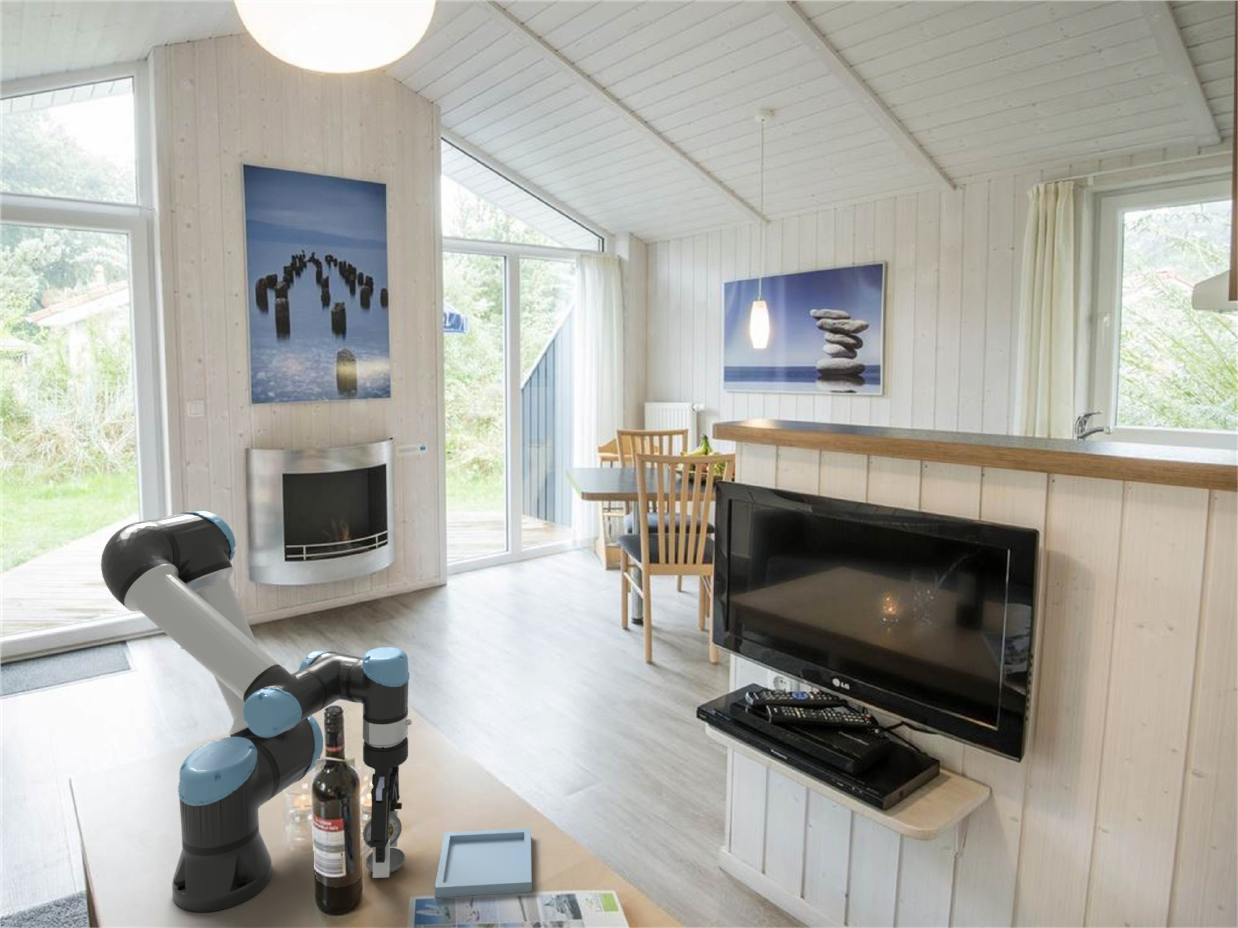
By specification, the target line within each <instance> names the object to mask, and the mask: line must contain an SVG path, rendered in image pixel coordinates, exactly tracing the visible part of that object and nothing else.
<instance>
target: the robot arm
mask: <svg viewBox="0 0 1238 928" xmlns="http://www.w3.org/2000/svg"><path fill="white" fill-rule="evenodd" d="M236 542H237V541H236V539H235V536H234V532H233V531H232V529H231V527H230V525H229V524H228V523H227V522H226V521H225V520H224V519H223V518H222V517H220V516H219V515H218V514H215V513H212V512H210V511H205V510H197V511H183V512H181V513H177V514H172V515H168V516H163V517H158V518H154V519H150V520H145V521H144V520H142V521H137V522H133V523H129V524H128V525H125V526H124V527H122V528H120V529H119V530H118V531H116V532H115V533H114V534H113V535H111V537H110V538H109V539H108V541H107V542H106V545H105V546H104V548H103V551H102V554H101V558H100V560H101V561H100V562H101V563H100V570H101V573H102V574H101V576H102V578H103V580H104V584H105V586H106V587H107V589H108V590H109V592H110V593H111V594H112V596H113V597H114V598H115V599H116V600H117V601H118V602H119V603H120V604H121V605H123V606H124V607H125V608H126V609H127V610H129V611H131V612H140V613H142V614H143V615H145V617H147V618H148V620H149V621H151V622H152V623H154V625H156V626H157V627H158V628H159V629H161V631H162V632H164V633H165V634H166V635H167V636H169V637H170V638H171V639H172V640H173V641H174V642H175V643H176V644H178V645H179V646H180V647H181V649H183V650H184V651H185V652H187V654H189V655H190V656H191V657H192V658H194V659H195V661H197V662H198V663H199V664H201V666H203V667H204V668H205V669H206V670H207V671H208V672H209V673H211V675H213V676H214V679H215V681H216V684H217V686H218V688H219V690H220V693H221V695H222V697H223V699H224V701H225V704H226V706H227V709H228V710H229V713H230V715H231V717H232V719H233V722H232V725H231V727H230V729H229V732H228V734H229V736H230V737H222V738H220V740H219V739H218V741H216V740H212V741H210V742H207V743H205V744H203V745H201V746H199V747H197V748H196V749H195V750H193V751H192V752H191V753H189V755H188V756H187V757H186V758H185V759H184V760H183V762H182V764H181V766H180V769H179V781H178V786H177V792H178V796H179V808H180V809H179V810H180V824H181V840H182V841H181V844H182V845H181V847H182V849H181V853H180V856H179V859H178V863H177V866H176V869H175V872H174V874H173V878H172V883H171V886H172V887H171V888H172V899H173V901H174V903H175V905H177V907H179V908H181V909H183V910H186V911H189V912H196V913H209V912H216V911H217V912H218V911H220V910H225V909H228V908H229V909H230V908H232V907H234V906H236V905H239V904H242V903H244V902H246V901H248V900H249V899H252V898H253V897H254V896H255V895H257V894H259V893H260V892H261V891H262V890H263V889H264V888H265V887H266V886H267V885H268V884H269V881H270V880H271V878H272V873H273V872H272V871H273V870H272V867H273V866H272V857H271V855H270V853H269V852H270V851H269V850H268V848H267V846H266V843H265V841H264V839H263V837H262V835H261V833H260V823H259V822H260V819H259V809H260V807H261V806H263V805H264V804H266V803H267V802H268V801H270V800H271V799H273V798H274V797H276V796H277V795H278V794H280V793H282V792H283V791H284V790H285V789H287V788H289V787H290V786H291V785H293V784H294V783H295V784H296V783H297V782H300V781H301V780H302V779H304V777H306V775H307V774H309V773H310V772H311V771H312V770H313V769H314V768H315V767H316V766H317V765H316V764H315V761H316V760H317V759H320V760H321V756H322V753H323V751H324V736H323V731H322V728H321V726H320V724H319V723H318V721H317V719H316V718H315V717H314V714H317V713H319V712H320V711H321V710H323V709H326V708H327V707H328V706H330V705H331V704H333V703H335V702H336V701H339V700H340V701H345V702H352V703H357V704H361V705H362V739H363V741H362V761H363V764H364V765H365V766H367V767H369V768H372V769H373V770H374V773H372V775H371V777H372V778H371V784H372V788H371V790H370V794H371V816H370V818H371V840H369V841H368V845H370V847H373V848H372V852H373V872H372V878H374V879H377V878H378V879H379V878H390V873H391V872H390V848H397V846H398V841H399V838H398V839H397V840H396V841H395V842H394V843H393V844H392V845H391V846H390V839H389V838H388V834H389V832H391V831H392V829H390V831H389V826H390V827H391V825H392V824H390V825H389V818H390V813H393V814H395V815H396V816H397V817H398V818H399V815H398V814H399V811H398V810H402V806H403V803H402V802H398V801H399V800H400V798H401V797H400V779H399V778H400V775H399V770H400V765H402V764H403V763H405V762H406V761H407V759H408V757H409V738H408V735H409V733H408V732H409V726H411V725H412V723H413V721H412V719H408V717H409V684H410V683H409V681H410V672H409V659H408V654H407V653H406V652H405V651H404V650H403V649H401V648H398V647H393V646H391V647H390V646H389V647H385V646H383V647H381V646H380V647H376V648H372V649H370V650H368V651H366V653H364V655H363V657H359V656H356V655H350V654H345V653H341V652H337V651H334V650H333V651H332V650H315V651H312V652H310V653H309V654H307V655H306V658H305V659H303V660H302V662H301V663H300V666H299V668H298V670H297V671H295V672H294V673H290V672H289V671H288V670H287V669H286V668H284V667H283V666H282V665H280V664H279V663H278V662H277V661H276V660H275V659H274V658H272V656H270V655H269V654H267V652H266V651H264V650H263V649H262V648H261V647H260V646H259V645H258V643H257V640H256V639H255V635H254V634H253V632H252V630H251V627H250V625H249V623H248V621H247V618H246V616H245V614H244V612H243V609H242V607H241V604H240V602H239V601H238V598H237V597H236V593H235V591H234V590H233V586H232V585H231V582H230V579H231V576H232V574H233V571H234V567H233V565H232V563H231V561H232V560H233V558H234V556H235V553H236V550H235V548H236V546H237V545H236ZM368 845H367V846H368ZM370 847H369V848H370Z"/></svg>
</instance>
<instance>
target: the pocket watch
mask: <svg viewBox="0 0 1238 928" xmlns="http://www.w3.org/2000/svg"><path fill="white" fill-rule="evenodd" d="M390 824H392V825H391V827H390V826H389V831H390V829H392V831H391V832H389V834H388V838H389V839H390V846H391V845H392V844H393V843H394V842H395V841H396V840H397V839H398V840H399V838H400V836H401V833H402V830H403V828H402V827H403V826H402V823H401V820H400V818H399V816H398V817H397V816H396V815H395V814H393V813H390V818H389V825H390ZM362 836H363V837H362V839H363V841H364V843H365V845H366V846H367V847H369V848H371V849H373V847H370V845H368V841H369V840H371V817H370V818H369V819H368V820H367V822H366V823H365V825H364V828H363V831H362ZM405 861H406V854H405V853H404V851H403V850H402V849H400V848H397V847H390V873H392V872H395V871H397V870H398V869H400V868H401V867H402V866H403V865H404V863H405ZM365 867H366V869H368V871H369V872H372V873H373V851H372V852H371V853H370V854H368V855H367V856H366V859H365Z"/></svg>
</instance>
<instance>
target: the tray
mask: <svg viewBox="0 0 1238 928" xmlns="http://www.w3.org/2000/svg"><path fill="white" fill-rule="evenodd" d="M531 828H532V827H527V828H526V827H525V828H508V829H507V828H505V829H486V830H485V829H484V830H466V831H465V830H464V831H463V830H462V831H444V832H443V836H442V843H441V848H440V855H439V861H438V866H437V874H436V878H435V885H434V898H450V897H452V898H453V897H467V896H468V897H469V896H483V895H484V896H485V895H486V896H487V895H502V894H517V893H518V894H520V893H531V892H532V830H531Z"/></svg>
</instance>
